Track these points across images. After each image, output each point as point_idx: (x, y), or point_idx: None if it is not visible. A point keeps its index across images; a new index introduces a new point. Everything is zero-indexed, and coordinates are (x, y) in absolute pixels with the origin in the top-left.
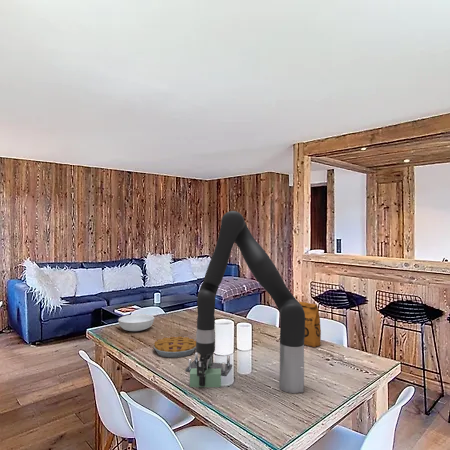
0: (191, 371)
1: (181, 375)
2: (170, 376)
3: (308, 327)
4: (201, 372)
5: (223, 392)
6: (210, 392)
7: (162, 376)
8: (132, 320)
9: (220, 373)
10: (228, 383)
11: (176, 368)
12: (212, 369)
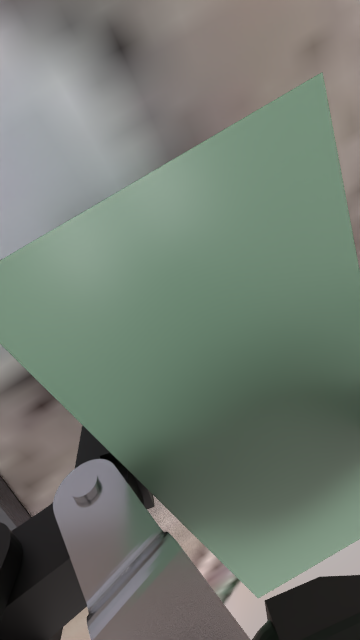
0: (333, 545)
1: None
2: (205, 570)
3: None
4: (336, 462)
5: (322, 41)
6: (352, 205)
7: (225, 588)
8: None
9: (279, 113)
10: (37, 91)
11: (78, 630)
12: (146, 416)
